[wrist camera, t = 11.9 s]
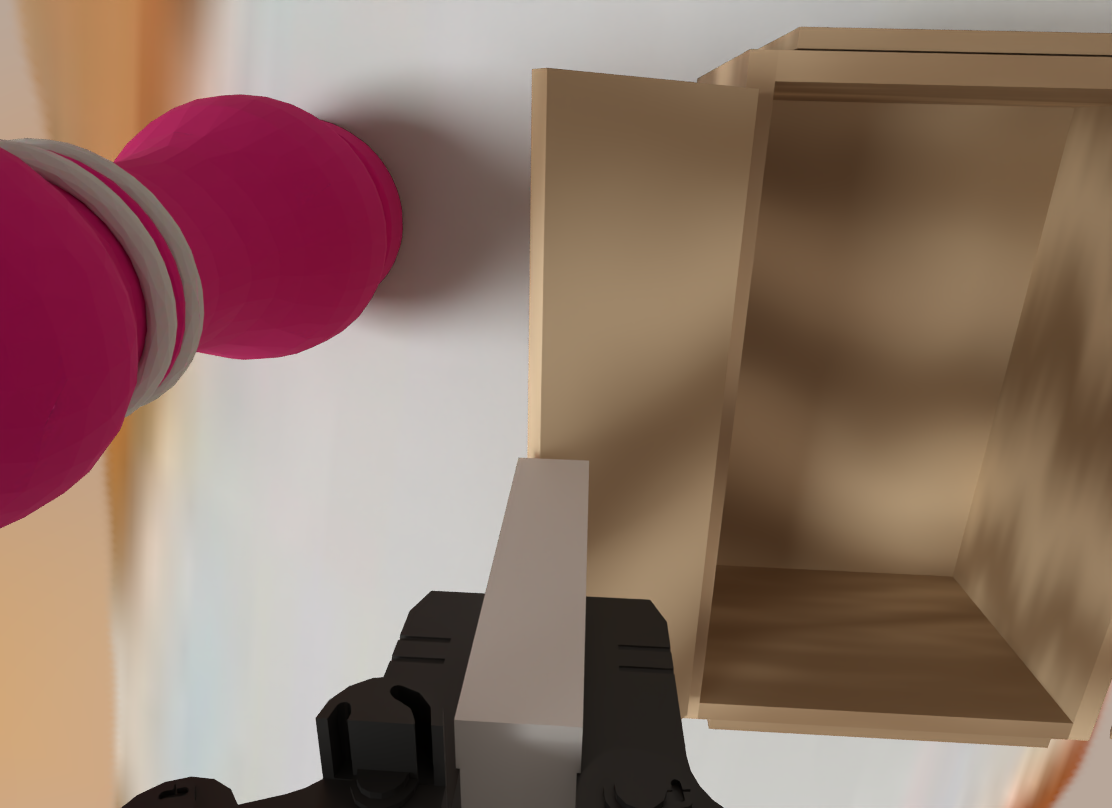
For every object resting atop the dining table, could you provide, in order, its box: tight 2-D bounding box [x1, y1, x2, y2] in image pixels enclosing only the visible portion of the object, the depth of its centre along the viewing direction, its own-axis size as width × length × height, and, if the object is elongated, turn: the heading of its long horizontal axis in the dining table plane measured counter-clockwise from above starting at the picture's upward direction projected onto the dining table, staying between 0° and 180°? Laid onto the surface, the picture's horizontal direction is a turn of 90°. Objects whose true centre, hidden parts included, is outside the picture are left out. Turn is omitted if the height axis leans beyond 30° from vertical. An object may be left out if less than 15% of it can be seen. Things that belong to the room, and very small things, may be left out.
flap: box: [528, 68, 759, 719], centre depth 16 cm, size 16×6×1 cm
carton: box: [684, 27, 1112, 748], centre depth 22 cm, size 19×12×8 cm, turn 179°
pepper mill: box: [0, 95, 403, 528], centre depth 15 cm, size 7×7×20 cm
